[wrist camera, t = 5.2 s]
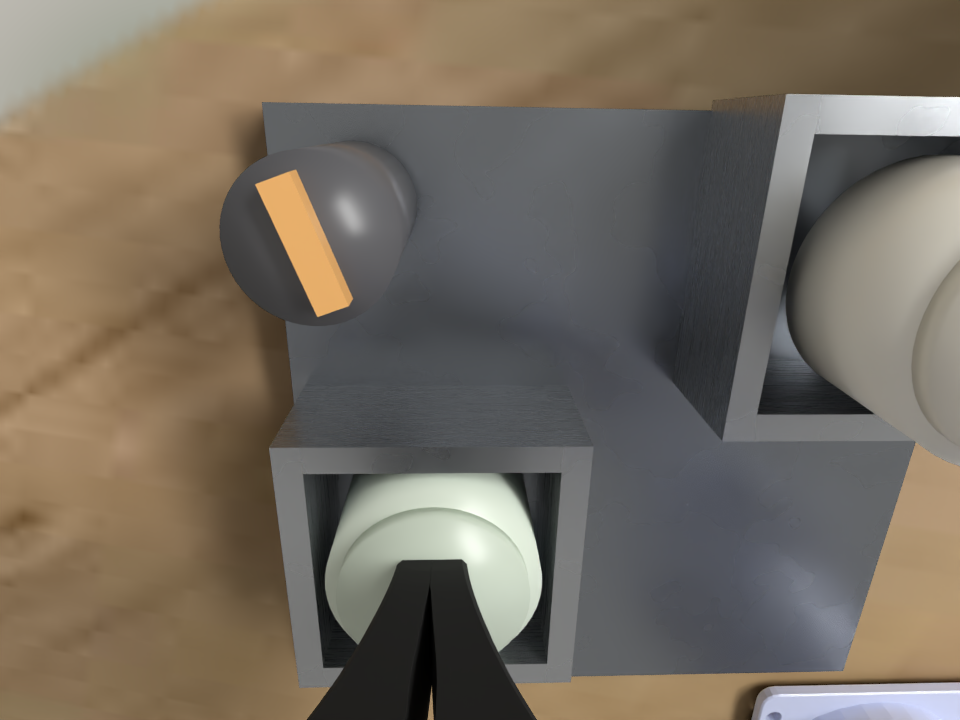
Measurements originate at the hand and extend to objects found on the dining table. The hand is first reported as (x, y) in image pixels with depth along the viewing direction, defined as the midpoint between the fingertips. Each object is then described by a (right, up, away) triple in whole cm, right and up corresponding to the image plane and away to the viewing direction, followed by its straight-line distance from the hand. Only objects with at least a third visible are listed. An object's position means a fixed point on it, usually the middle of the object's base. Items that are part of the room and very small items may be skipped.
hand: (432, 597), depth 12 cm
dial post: (-2, +8, +1) cm, 8 cm away
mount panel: (+4, +3, +4) cm, 7 cm away
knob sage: (0, +1, +3) cm, 3 cm away
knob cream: (+9, +6, -1) cm, 11 cm away
